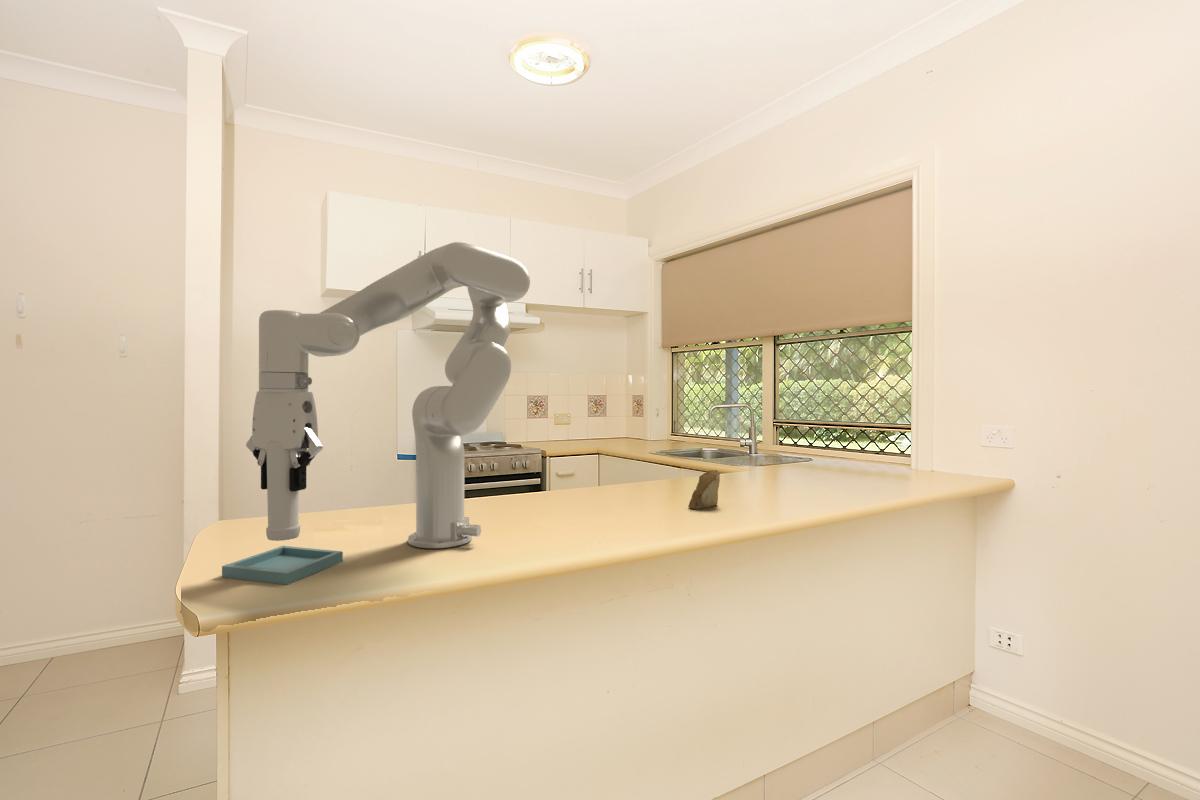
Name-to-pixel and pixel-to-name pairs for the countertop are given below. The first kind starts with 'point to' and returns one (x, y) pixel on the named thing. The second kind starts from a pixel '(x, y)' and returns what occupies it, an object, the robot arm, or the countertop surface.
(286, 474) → the bottle
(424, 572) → the countertop surface
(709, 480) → the rock
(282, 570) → the tray
